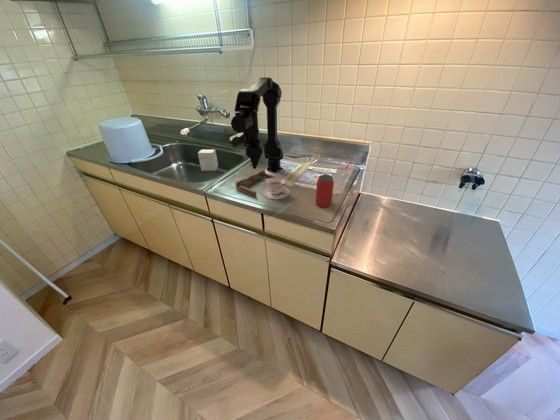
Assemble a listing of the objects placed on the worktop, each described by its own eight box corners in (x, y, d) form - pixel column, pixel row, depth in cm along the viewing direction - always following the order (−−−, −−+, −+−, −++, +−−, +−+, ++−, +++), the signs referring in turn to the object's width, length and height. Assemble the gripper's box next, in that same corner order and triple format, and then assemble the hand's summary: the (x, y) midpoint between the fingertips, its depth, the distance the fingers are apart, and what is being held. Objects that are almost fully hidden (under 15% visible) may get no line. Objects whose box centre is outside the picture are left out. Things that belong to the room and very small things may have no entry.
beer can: (313, 200, 105) (315, 174, 98) (328, 199, 105) (331, 173, 99) (317, 208, 99) (319, 181, 93) (333, 207, 100) (336, 180, 93)
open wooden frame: (263, 176, 126) (263, 169, 124) (281, 183, 119) (281, 175, 117) (236, 189, 114) (235, 181, 112) (254, 197, 107) (253, 189, 105)
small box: (218, 167, 137) (215, 149, 131) (215, 171, 132) (212, 152, 127) (204, 167, 138) (201, 149, 132) (201, 171, 133) (197, 152, 127)
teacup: (258, 197, 108) (257, 184, 105) (269, 185, 117) (268, 173, 114) (284, 201, 104) (284, 189, 101) (292, 189, 114) (293, 177, 111)
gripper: (229, 121, 100) (233, 158, 109) (229, 133, 85) (234, 175, 93) (256, 120, 102) (258, 156, 110) (261, 132, 86) (263, 172, 95)
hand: (253, 164), depth 102 cm, fingers open, 9 cm apart
